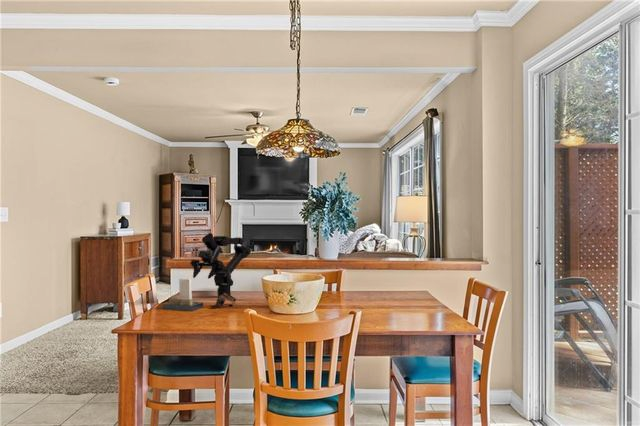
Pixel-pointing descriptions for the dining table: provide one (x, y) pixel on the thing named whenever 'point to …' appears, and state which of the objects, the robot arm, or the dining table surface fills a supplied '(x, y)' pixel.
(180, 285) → the white upright block
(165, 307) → the plate
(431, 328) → the dining table surface
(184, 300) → the offcut
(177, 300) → the offcut
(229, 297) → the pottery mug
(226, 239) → the robot arm
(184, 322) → the dining table surface
